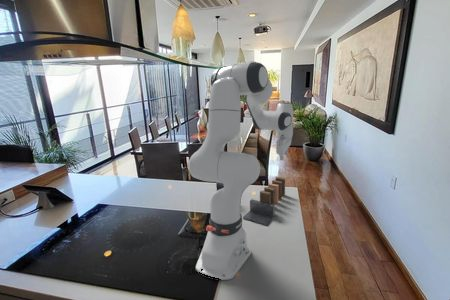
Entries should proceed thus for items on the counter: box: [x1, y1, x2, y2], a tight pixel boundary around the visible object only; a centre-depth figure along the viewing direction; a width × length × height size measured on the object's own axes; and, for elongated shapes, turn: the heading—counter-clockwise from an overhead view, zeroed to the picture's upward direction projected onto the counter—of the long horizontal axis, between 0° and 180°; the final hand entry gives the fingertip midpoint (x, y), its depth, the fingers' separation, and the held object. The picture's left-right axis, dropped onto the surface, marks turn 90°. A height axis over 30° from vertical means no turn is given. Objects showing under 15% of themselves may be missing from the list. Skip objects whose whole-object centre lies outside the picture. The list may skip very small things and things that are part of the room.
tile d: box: [263, 186, 276, 205], centre depth 121 cm, size 2×5×10 cm, turn 56°
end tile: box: [275, 176, 286, 197], centre depth 133 cm, size 2×5×10 cm, turn 57°
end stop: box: [242, 199, 276, 227], centre depth 112 cm, size 9×12×6 cm
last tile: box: [259, 190, 271, 204], centre depth 117 cm, size 2×5×10 cm, turn 56°
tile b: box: [271, 179, 283, 201], centre depth 129 cm, size 2×5×10 cm, turn 57°
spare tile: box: [267, 182, 279, 205], centre depth 125 cm, size 2×5×10 cm, turn 57°
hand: (283, 157), depth 132 cm, fingers open, 8 cm apart
